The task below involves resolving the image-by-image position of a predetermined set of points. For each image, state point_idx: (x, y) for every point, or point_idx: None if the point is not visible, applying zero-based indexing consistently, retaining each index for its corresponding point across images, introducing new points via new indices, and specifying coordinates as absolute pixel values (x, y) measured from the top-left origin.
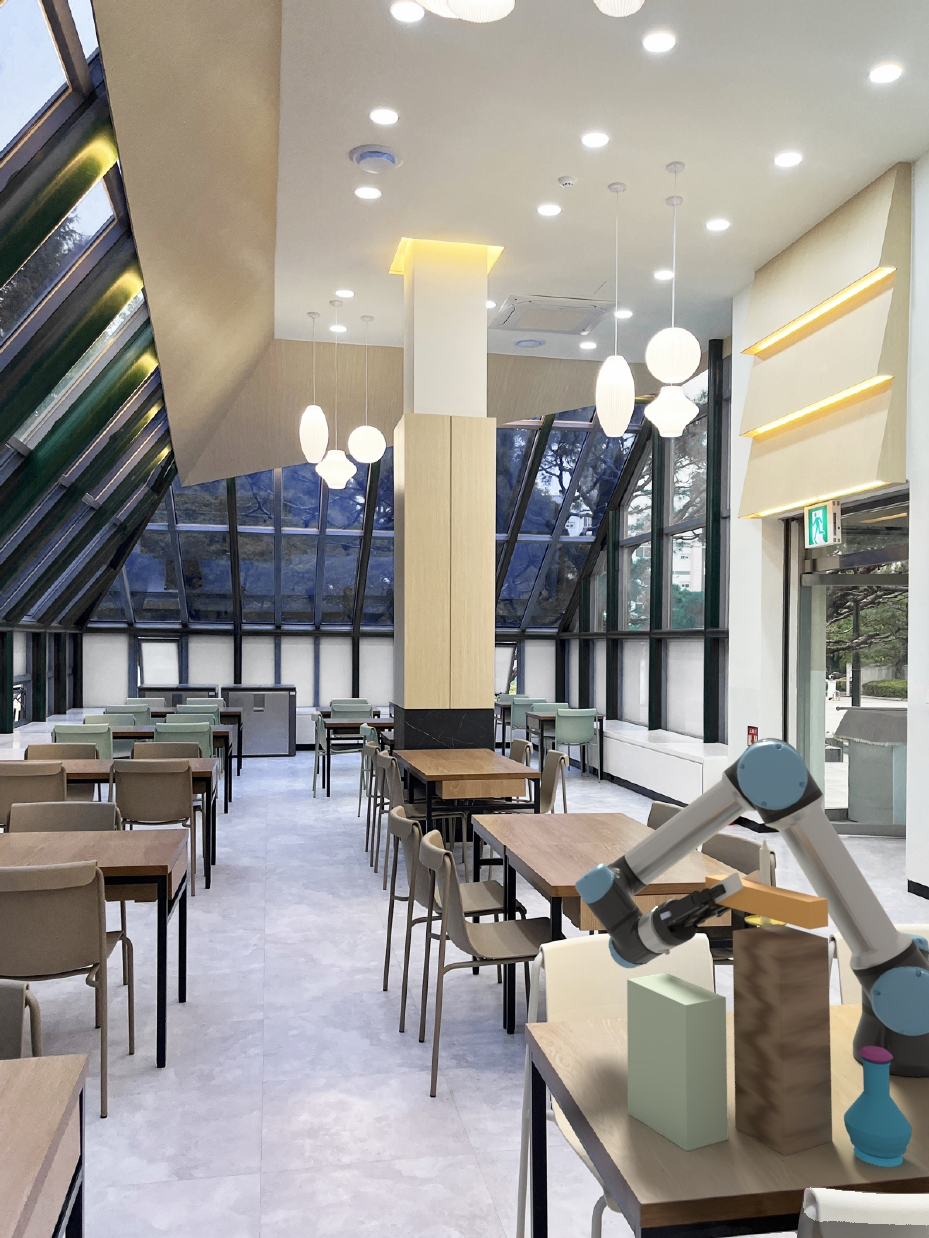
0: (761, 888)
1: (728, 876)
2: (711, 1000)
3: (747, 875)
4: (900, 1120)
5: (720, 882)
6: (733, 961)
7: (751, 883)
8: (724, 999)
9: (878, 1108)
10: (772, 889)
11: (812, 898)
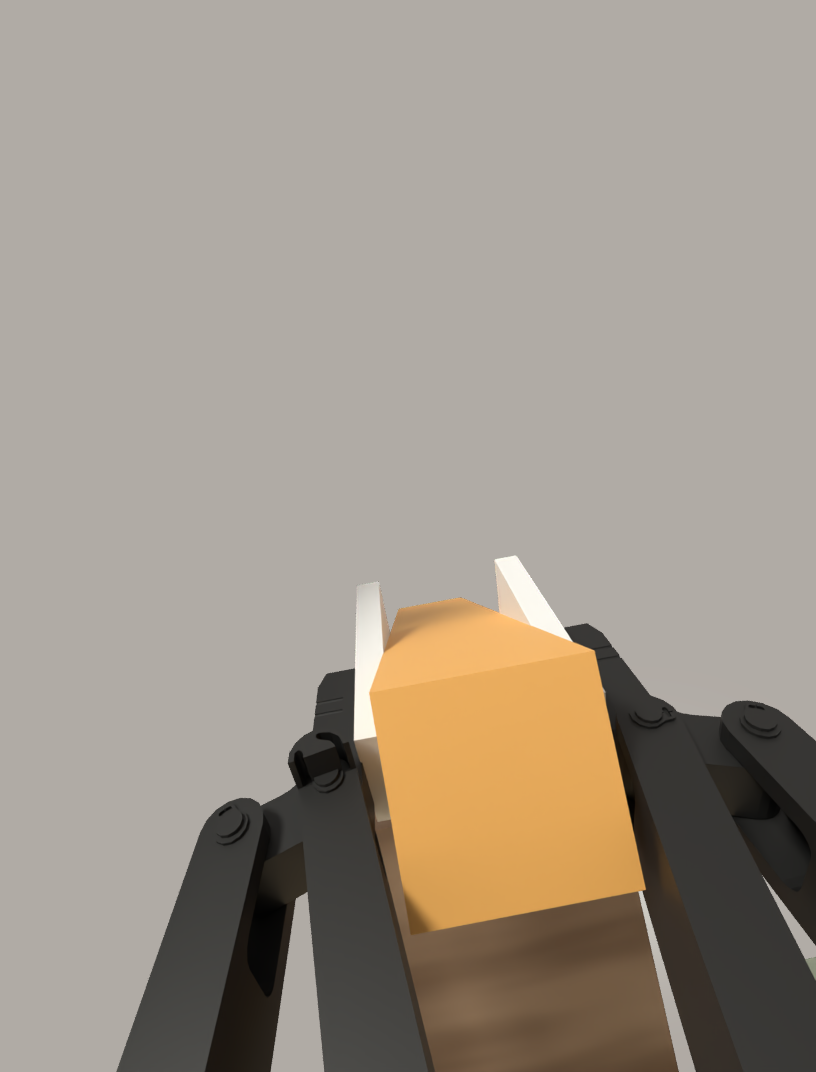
0: (461, 613)
1: (530, 579)
2: (811, 959)
3: (381, 620)
4: None
5: (558, 627)
6: (644, 920)
7: (430, 629)
8: None
9: None
10: (437, 614)
11: (424, 605)
